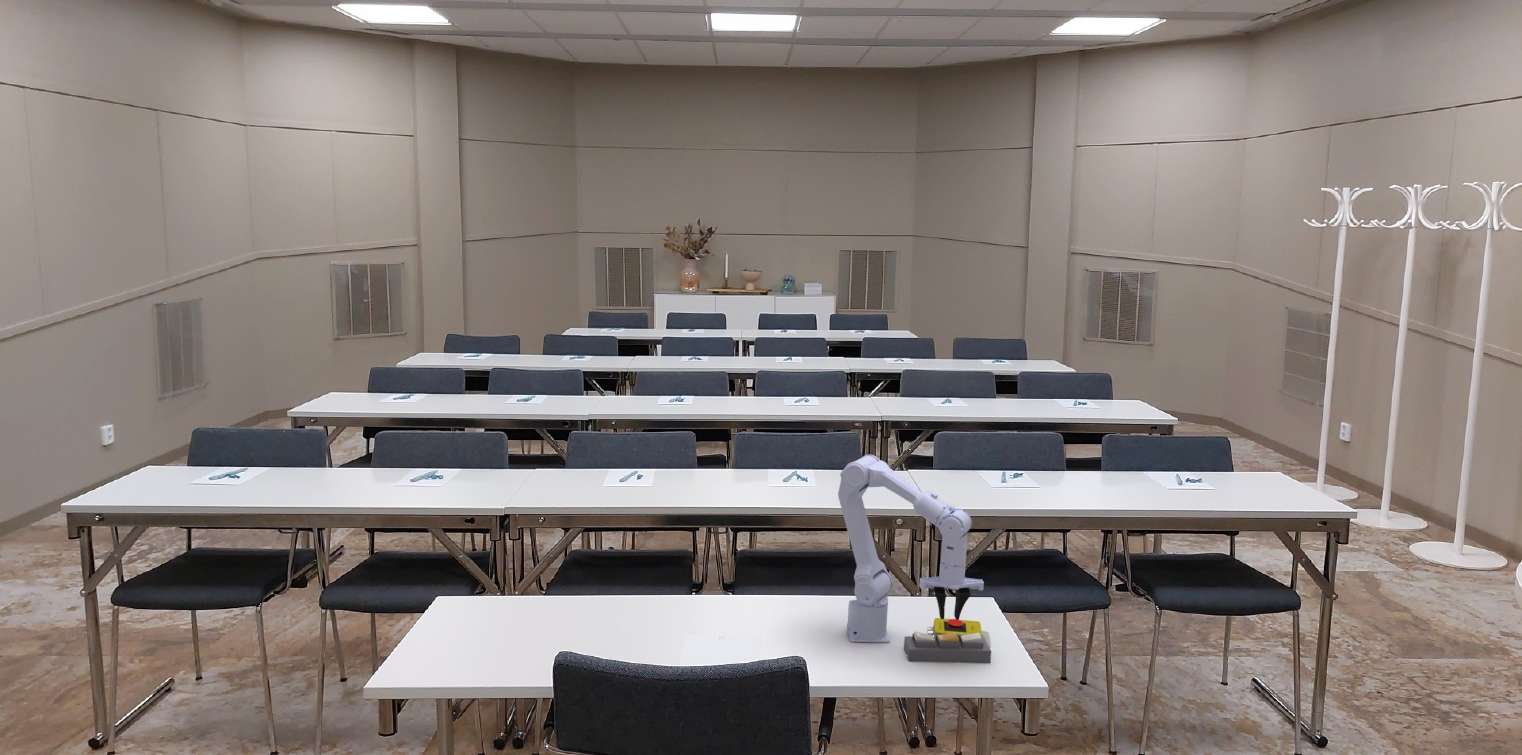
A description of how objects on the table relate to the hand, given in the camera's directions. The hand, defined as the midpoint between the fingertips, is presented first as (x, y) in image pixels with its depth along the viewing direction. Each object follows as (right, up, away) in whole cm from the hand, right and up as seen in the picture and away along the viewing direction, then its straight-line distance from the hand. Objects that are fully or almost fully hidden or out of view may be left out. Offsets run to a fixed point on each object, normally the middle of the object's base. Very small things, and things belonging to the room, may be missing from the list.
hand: (949, 617), depth 248 cm
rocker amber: (0, -5, +1) cm, 5 cm away
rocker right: (+5, -5, +1) cm, 8 cm away
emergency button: (+4, -8, +12) cm, 15 cm away
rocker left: (-6, -5, +1) cm, 8 cm away
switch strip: (0, -9, +2) cm, 9 cm away
